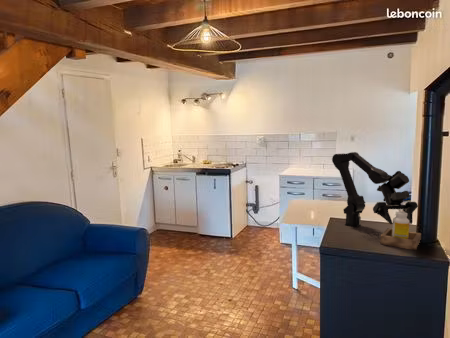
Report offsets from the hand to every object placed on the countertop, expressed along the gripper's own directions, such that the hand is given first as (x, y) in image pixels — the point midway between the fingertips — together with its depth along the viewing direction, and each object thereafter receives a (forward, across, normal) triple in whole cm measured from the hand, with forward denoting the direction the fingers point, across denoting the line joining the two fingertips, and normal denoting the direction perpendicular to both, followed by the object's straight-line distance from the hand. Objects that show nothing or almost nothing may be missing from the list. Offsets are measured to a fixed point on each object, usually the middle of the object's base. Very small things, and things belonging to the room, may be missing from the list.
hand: (401, 223), depth 155 cm
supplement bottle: (+6, 0, +6) cm, 8 cm away
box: (+6, 0, +6) cm, 9 cm away
